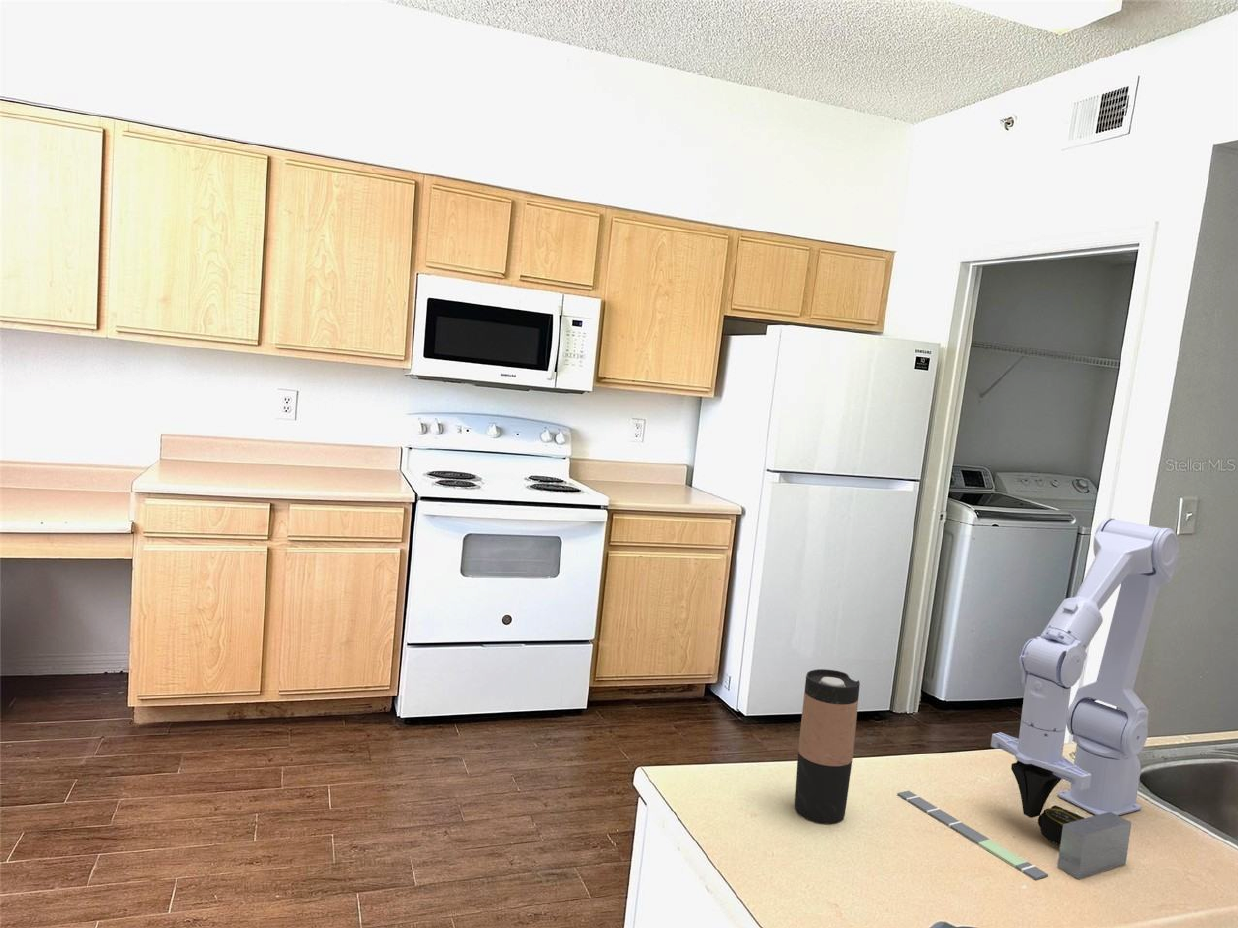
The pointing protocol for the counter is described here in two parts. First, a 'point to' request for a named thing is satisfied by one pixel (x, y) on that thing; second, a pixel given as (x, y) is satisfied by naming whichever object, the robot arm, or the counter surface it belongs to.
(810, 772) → the travel mug
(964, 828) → the scale strip
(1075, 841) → the charcoal grey brick
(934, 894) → the counter surface
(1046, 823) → the tape measure
